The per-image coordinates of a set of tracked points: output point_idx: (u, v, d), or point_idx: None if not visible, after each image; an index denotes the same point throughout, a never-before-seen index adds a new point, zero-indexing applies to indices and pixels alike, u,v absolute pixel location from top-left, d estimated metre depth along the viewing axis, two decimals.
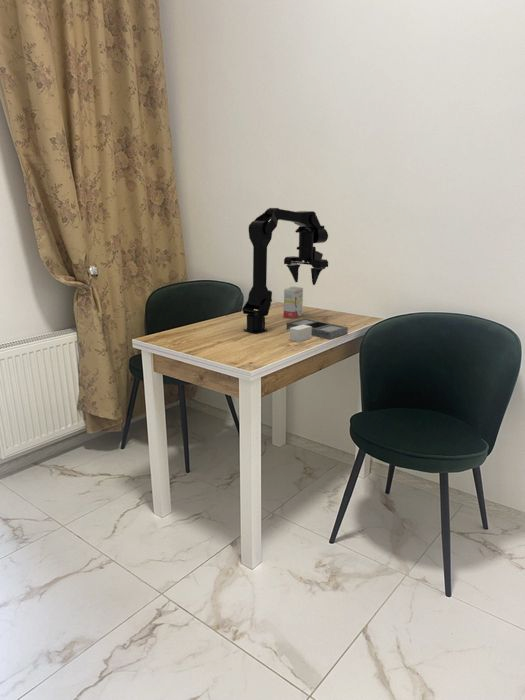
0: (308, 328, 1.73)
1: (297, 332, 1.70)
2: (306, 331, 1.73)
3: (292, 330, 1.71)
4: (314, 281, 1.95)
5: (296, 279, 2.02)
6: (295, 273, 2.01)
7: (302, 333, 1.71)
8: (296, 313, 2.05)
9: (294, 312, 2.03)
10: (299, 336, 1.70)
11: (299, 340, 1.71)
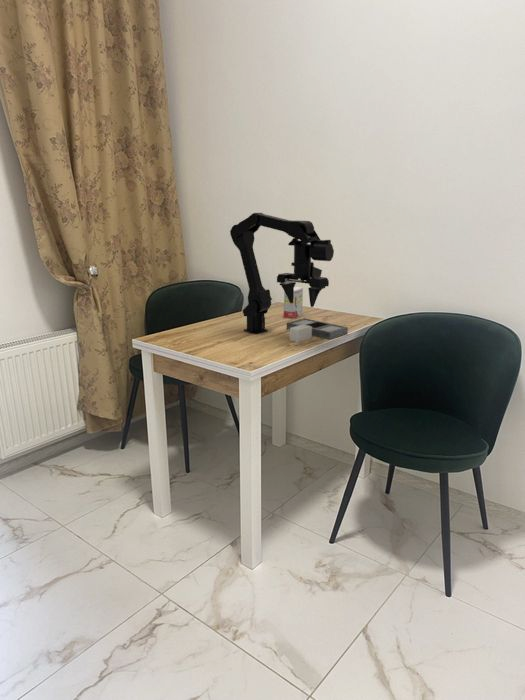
0: (308, 328, 1.73)
1: (297, 332, 1.70)
2: (306, 331, 1.72)
3: (292, 330, 1.71)
4: (312, 303, 1.67)
5: (291, 300, 1.74)
6: (290, 293, 1.73)
7: (302, 333, 1.71)
8: (296, 313, 2.05)
9: (294, 312, 2.03)
10: (299, 336, 1.70)
11: (299, 340, 1.71)
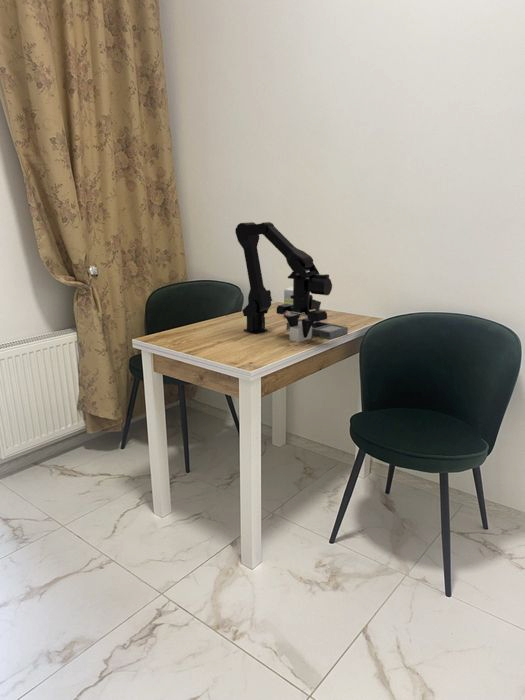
0: None
1: (297, 332, 1.70)
2: None
3: (292, 329, 1.71)
4: (305, 333, 1.71)
5: None
6: (294, 325, 1.74)
7: (302, 333, 1.71)
8: None
9: None
10: (299, 336, 1.70)
11: (299, 340, 1.71)
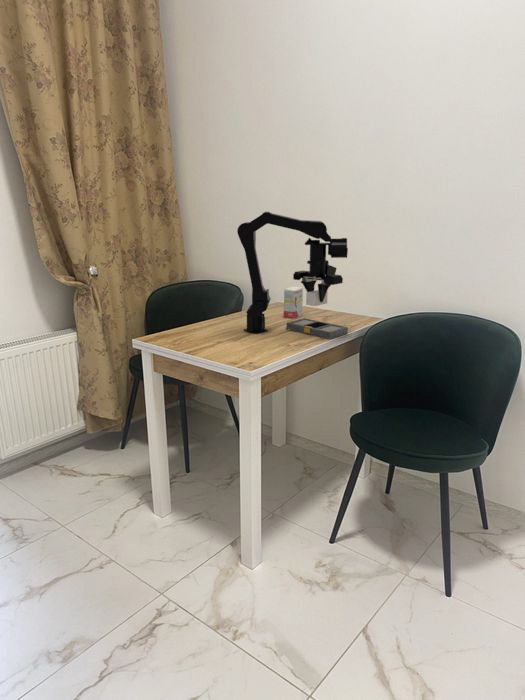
0: None
1: (313, 296, 1.76)
2: None
3: (308, 294, 1.77)
4: (321, 298, 1.77)
5: None
6: (311, 290, 1.80)
7: (318, 297, 1.77)
8: (296, 313, 2.05)
9: (294, 312, 2.03)
10: (315, 300, 1.76)
11: (315, 304, 1.77)
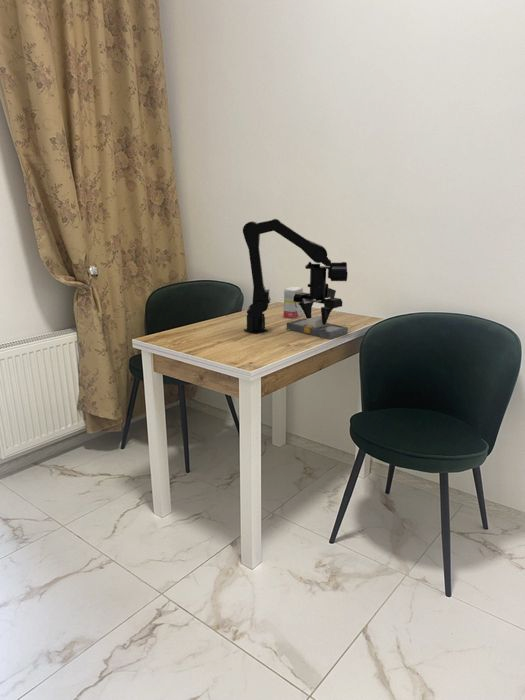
0: None
1: (313, 323, 1.79)
2: None
3: (308, 321, 1.81)
4: (324, 321, 1.80)
5: None
6: (308, 312, 1.84)
7: (318, 324, 1.81)
8: (296, 313, 2.05)
9: (294, 312, 2.03)
10: (315, 327, 1.80)
11: None
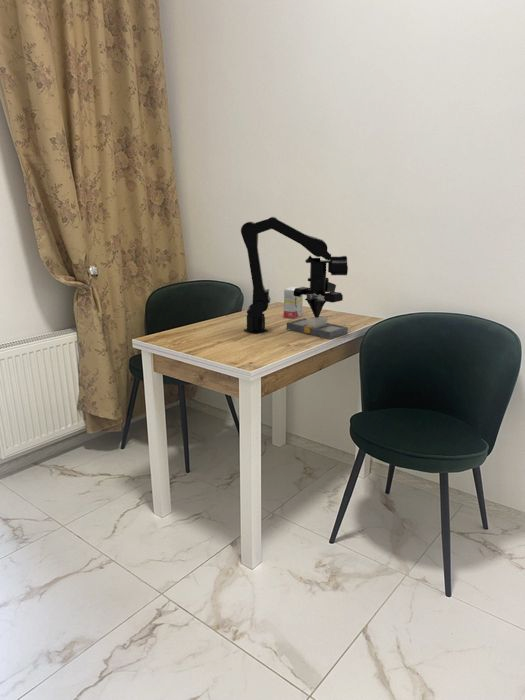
0: (324, 319, 1.83)
1: (313, 323, 1.79)
2: (322, 322, 1.82)
3: (308, 321, 1.81)
4: (317, 314, 1.81)
5: None
6: None
7: (318, 324, 1.81)
8: (296, 313, 2.05)
9: (294, 312, 2.03)
10: (315, 327, 1.80)
11: None
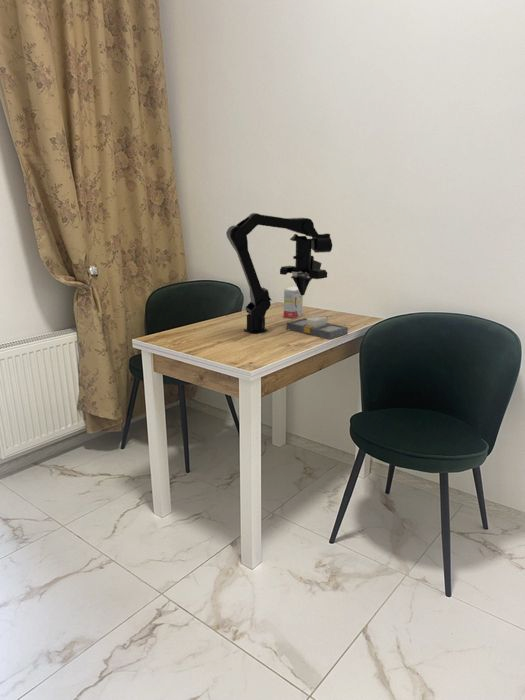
0: (324, 319, 1.83)
1: (313, 323, 1.79)
2: (322, 322, 1.82)
3: (308, 321, 1.81)
4: (303, 291, 1.85)
5: None
6: None
7: (318, 324, 1.81)
8: (296, 313, 2.05)
9: (294, 312, 2.03)
10: (315, 327, 1.80)
11: None
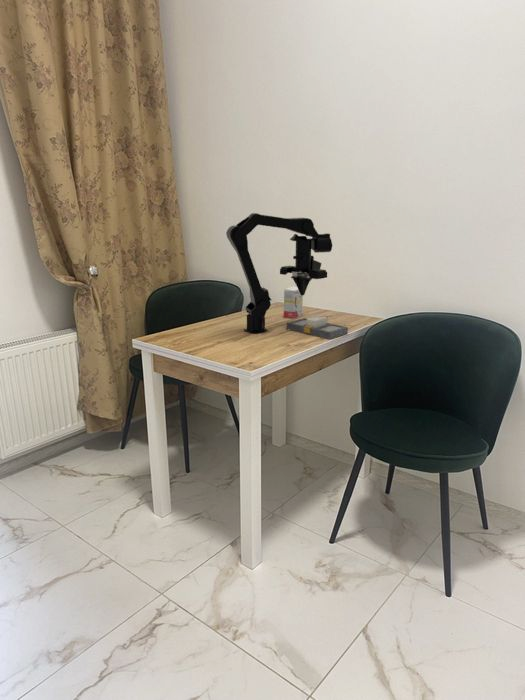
0: (324, 319, 1.83)
1: (313, 323, 1.79)
2: (322, 322, 1.82)
3: (308, 321, 1.81)
4: (303, 291, 1.85)
5: None
6: None
7: (318, 324, 1.81)
8: (296, 313, 2.05)
9: (294, 312, 2.03)
10: (315, 327, 1.80)
11: None
